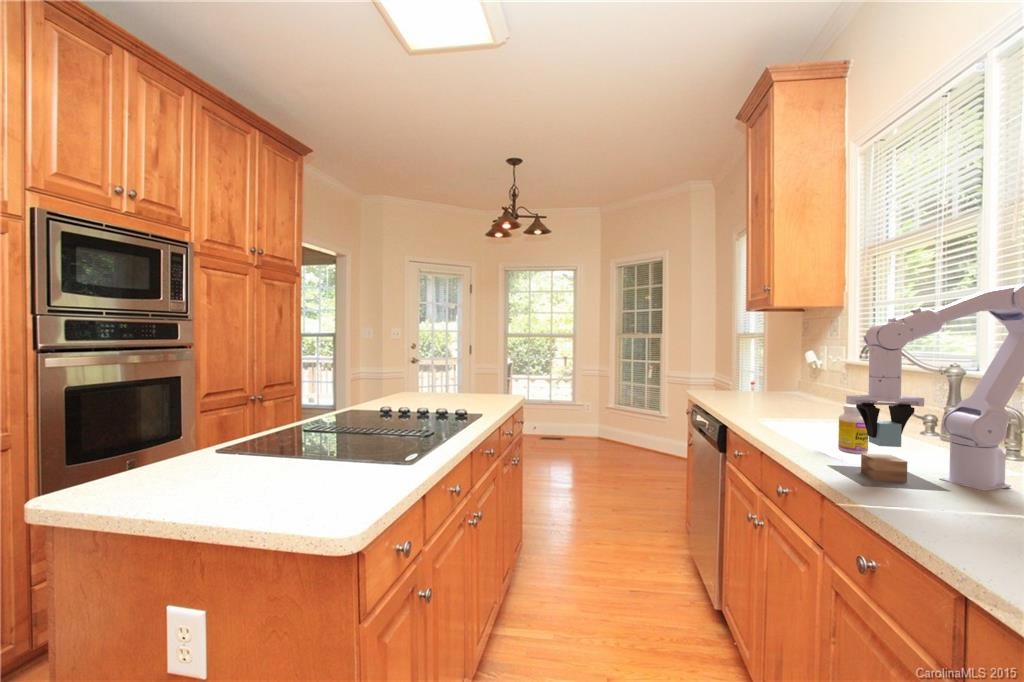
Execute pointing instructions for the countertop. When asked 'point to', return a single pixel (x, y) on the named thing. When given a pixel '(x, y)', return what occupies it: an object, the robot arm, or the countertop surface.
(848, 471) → the mat
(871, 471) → the slab bottom
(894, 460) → the slab top
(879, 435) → the blue block
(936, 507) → the countertop surface
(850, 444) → the supplement bottle
